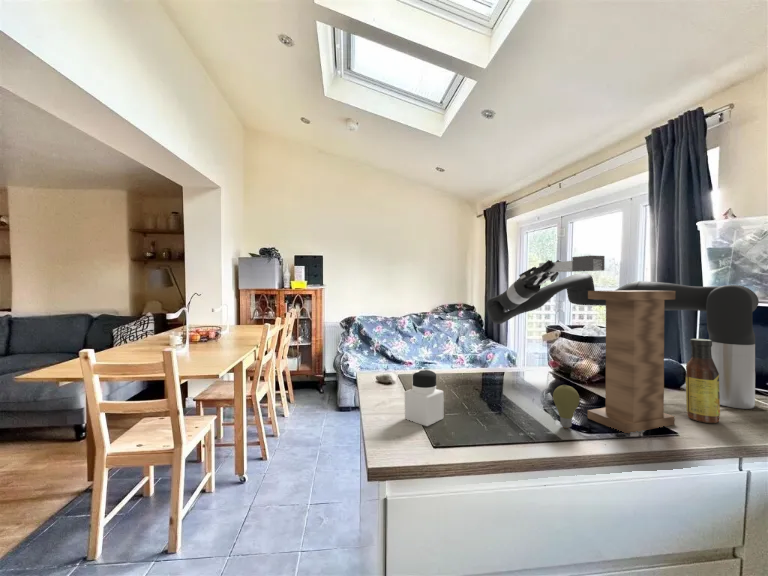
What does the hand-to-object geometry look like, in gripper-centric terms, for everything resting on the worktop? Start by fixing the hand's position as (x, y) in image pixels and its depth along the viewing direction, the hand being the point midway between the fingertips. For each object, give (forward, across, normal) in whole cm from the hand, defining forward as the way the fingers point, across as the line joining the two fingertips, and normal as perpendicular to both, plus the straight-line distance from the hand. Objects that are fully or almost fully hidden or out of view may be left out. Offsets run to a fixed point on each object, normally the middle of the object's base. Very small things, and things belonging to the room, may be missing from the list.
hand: (555, 262), depth 111 cm
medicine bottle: (-15, +48, -38) cm, 63 cm away
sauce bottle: (+5, -17, -50) cm, 53 cm away
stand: (+1, +1, -47) cm, 47 cm away
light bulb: (-1, +19, -46) cm, 50 cm away
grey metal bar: (+2, 0, -5) cm, 5 cm away
